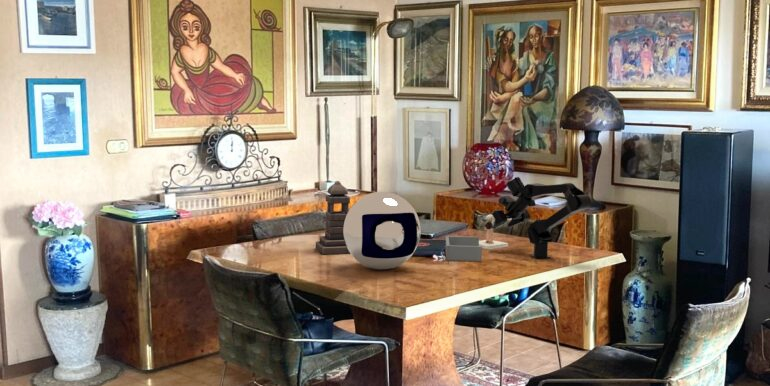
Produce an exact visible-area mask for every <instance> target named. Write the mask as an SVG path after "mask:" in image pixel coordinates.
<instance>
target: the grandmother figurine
mask: <svg viewBox="0 0 770 386" xmlns="http://www.w3.org/2000/svg"><path fill="white" fill-rule="evenodd" d="M493 219H494V217H493V215H492V214H488V215H486V217H485V220H486V221H487V222H486V223H485V224H484V231H486V237H485V240H486V242H485V243H488V244H494V242H493V240H494V236H493V235H494V234H493V233H494V228H493V225H494V223H492V222H493Z"/></svg>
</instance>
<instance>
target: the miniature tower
mask: <svg viewBox="0 0 770 386" xmlns="http://www.w3.org/2000/svg"><path fill="white" fill-rule="evenodd" d="M326 192H327V194H325V202H327V204H326V205H327V206H326V207H327V211H325V231H324V235H319V240H317V241H315V249H316V250H317V251H318V252H319V253H320V254H321V255H323V256H325V255H326V256H327V255H351V253H350V252H349V250H348V248H347V246H346V244H345V241H344V235H343V226H344V221H345V218H346V215H347V213H348V211H349V210H350V208H349V207H350V206H349V204H350V203H351V197H350V196H349V195H348V194H349V191H348V189H347V188H346V187H345V186H344V185H342V183H341V182H340V180H336V181H335V182H334V184H331V186H329V187H328V188H327V191H326ZM334 204H335V205H338V204H341V207H340V208H341V209H340V210H335V211H334V208H335V207H334V206H335V205H334Z"/></svg>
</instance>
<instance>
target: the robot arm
mask: <svg viewBox="0 0 770 386" xmlns="http://www.w3.org/2000/svg"><path fill="white" fill-rule="evenodd" d="M505 185H506V187H507V188H508V191H509V192H510V194H511V195H512V196H513V197H516V199H514V198H513V197H512V196H510V195H503V196H500V197H499V198H498V203H499V205H501V206H503V207H504V210H505V211H506V213H505V212H504V211H503V209H494V210H493V211H492V212H491V215H492V216H493V219H494V223H493V230H495V229H498V228H500V227H501V226H504V225H505V224H506V223H507V222H508V220H510V221H509V223H508V224H507V226H508V228H511V227H514V226H516V225H518V224H522V223H525V222H529V220H530V219H531V214H530V212H529V211H528V209H527V208H530V207H536V200H535V199H533V198H539V197H543V196H545V195H549V194H550V195H551V194H563V196H564V198H565V201H566V205H564V207H562V208H560V209H559V210H558V211H556V212H555V213H553V214H552V215H550V216H549V217H548V218H546V219H545V218H544V219H537V220H534V221H533V222H532V223H529V226H528V228H527V234H528V239H529V242H530V244H533V253H532V254H530V257H532V258H534V259H550V258H552V256H549V255H548V250H549V249H548V247H549V243H553V240H554V237H553V235H552V234H551V232H552V229H553V228H554V227H557V226H558V225H560V223H563V222H564V221H565V220H566V219H568V218H569V217H571V216H573V215H574V214H577V213H579V212H583V211H586V210H588V209H590V208H591V206H592V199H591V197H590V195H587V194H586V192H584V191H583V190H581V189H580V188H578V187H577V186H576V185H575V184H574V183H572V182H565V183H560V184H557V183H556V184H544V183H538V182H537V183H529V184H528V183H526V184H525V185H524V183H523V182H522V180H521V177H519V176H516V177H514V178H513V179H511V180H509V181H507V183H506V184H505Z"/></svg>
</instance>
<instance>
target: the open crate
mask: <svg viewBox="0 0 770 386" xmlns="http://www.w3.org/2000/svg"><path fill="white" fill-rule="evenodd" d="M479 241H480V237H479V236H466V235H465V236H460V235H459V236H457V235H455V236H454V235H446V236H445V260H446V262H447V261H450V262H451V261H453V262H455V261H456V262H460V261H461V262H482V260H483V259H482V255H483V254H482V251H483V248H482V246H479Z"/></svg>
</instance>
